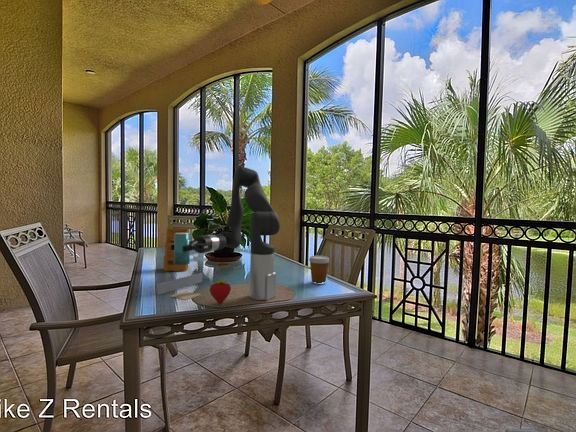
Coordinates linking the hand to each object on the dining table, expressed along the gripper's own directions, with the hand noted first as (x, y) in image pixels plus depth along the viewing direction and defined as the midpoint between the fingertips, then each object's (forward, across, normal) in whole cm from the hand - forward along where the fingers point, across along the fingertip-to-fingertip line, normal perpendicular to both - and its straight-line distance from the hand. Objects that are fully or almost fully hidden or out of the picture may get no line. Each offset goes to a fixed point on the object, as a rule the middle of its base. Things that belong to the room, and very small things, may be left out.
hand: (177, 248), depth 129 cm
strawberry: (+2, +23, +18) cm, 30 cm away
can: (-2, 0, +6) cm, 7 cm away
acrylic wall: (-5, -4, +18) cm, 19 cm away
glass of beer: (-46, +42, +18) cm, 65 cm away
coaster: (+2, +6, +18) cm, 19 cm away
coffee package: (-29, -32, +18) cm, 46 cm away
